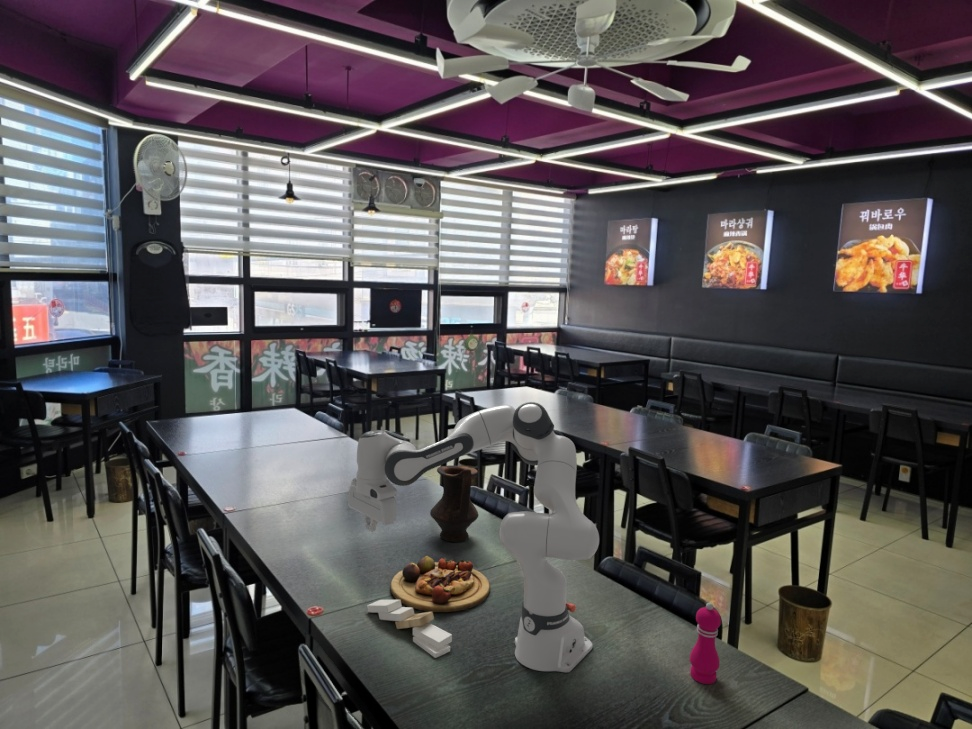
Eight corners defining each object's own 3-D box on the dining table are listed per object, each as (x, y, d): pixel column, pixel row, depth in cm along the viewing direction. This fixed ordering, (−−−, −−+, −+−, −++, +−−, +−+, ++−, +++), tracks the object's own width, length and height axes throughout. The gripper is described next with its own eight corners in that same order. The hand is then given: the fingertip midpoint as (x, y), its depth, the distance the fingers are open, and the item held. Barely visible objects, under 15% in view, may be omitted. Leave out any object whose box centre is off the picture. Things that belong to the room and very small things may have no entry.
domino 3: (406, 615, 182) (432, 611, 176) (408, 622, 181) (434, 618, 176) (395, 621, 178) (420, 618, 172) (397, 629, 177) (422, 625, 172)
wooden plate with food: (478, 621, 184) (480, 594, 183) (375, 605, 190) (376, 579, 189) (497, 575, 215) (499, 552, 214) (408, 563, 221) (409, 540, 220)
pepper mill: (711, 668, 165) (718, 596, 163) (722, 685, 158) (729, 610, 156) (684, 667, 165) (690, 595, 162) (694, 685, 158) (701, 610, 155)
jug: (422, 531, 248) (425, 457, 244) (465, 525, 256) (468, 453, 252) (442, 552, 229) (444, 472, 225) (487, 545, 237) (491, 468, 233)
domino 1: (380, 599, 190) (400, 599, 183) (381, 606, 190) (401, 606, 183) (366, 605, 186) (386, 605, 179) (368, 612, 186) (388, 612, 179)
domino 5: (427, 630, 175) (450, 646, 168) (427, 637, 175) (450, 653, 168) (412, 636, 172) (435, 653, 165) (412, 643, 172) (435, 660, 165)
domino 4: (425, 620, 176) (451, 634, 170) (425, 627, 177) (451, 641, 170) (412, 628, 172) (439, 642, 166) (412, 634, 173) (438, 649, 166)
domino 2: (391, 606, 186) (413, 607, 179) (393, 613, 186) (414, 614, 179) (378, 612, 183) (399, 614, 176) (379, 619, 182) (400, 621, 176)
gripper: (343, 478, 191) (342, 522, 193) (382, 496, 177) (381, 543, 178) (361, 474, 195) (360, 517, 197) (400, 491, 181) (399, 537, 183)
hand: (370, 529), depth 188 cm, fingers closed
